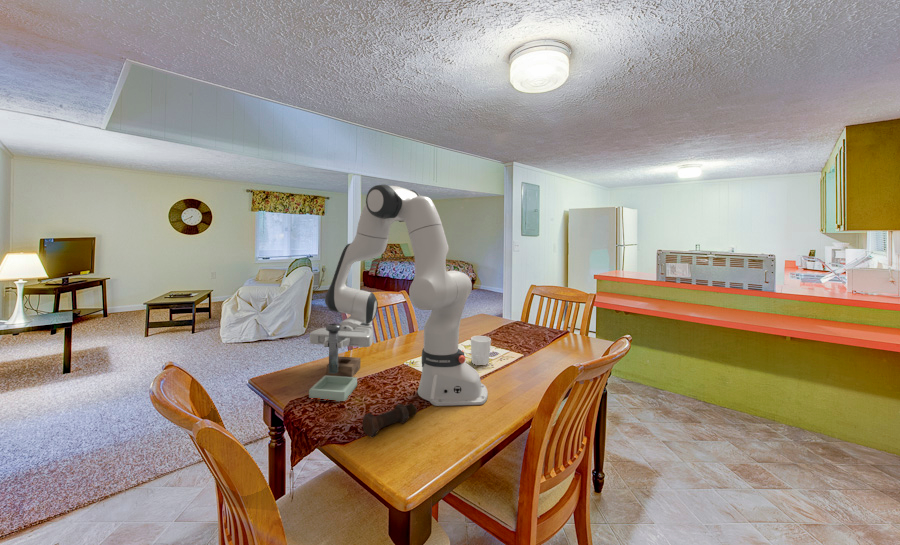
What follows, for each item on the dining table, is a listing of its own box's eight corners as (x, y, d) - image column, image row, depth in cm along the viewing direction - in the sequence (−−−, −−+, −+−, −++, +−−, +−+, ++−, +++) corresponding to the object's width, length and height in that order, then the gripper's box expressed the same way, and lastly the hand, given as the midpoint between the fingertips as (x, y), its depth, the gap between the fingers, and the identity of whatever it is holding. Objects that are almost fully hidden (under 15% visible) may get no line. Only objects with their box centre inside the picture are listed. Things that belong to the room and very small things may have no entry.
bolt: (415, 422, 100) (368, 442, 89) (405, 408, 103) (359, 425, 92) (422, 409, 97) (375, 427, 87) (412, 394, 100) (366, 410, 90)
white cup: (490, 367, 137) (492, 342, 136) (470, 366, 137) (471, 341, 136) (488, 359, 145) (490, 336, 144) (469, 359, 145) (470, 335, 144)
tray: (357, 386, 117) (357, 377, 117) (344, 401, 106) (344, 392, 106) (324, 383, 118) (324, 375, 118) (309, 399, 107) (309, 389, 107)
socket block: (360, 368, 132) (360, 357, 132) (351, 377, 124) (351, 366, 123) (336, 366, 133) (336, 356, 133) (326, 376, 124) (326, 365, 124)
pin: (343, 369, 114) (343, 324, 112) (337, 375, 109) (337, 327, 107) (329, 368, 114) (329, 323, 112) (323, 374, 110) (323, 326, 108)
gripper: (319, 321, 124) (299, 333, 110) (377, 325, 122) (364, 337, 109) (319, 339, 125) (300, 352, 111) (377, 342, 123) (364, 357, 109)
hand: (332, 345), depth 110 cm, fingers closed on pin, 3 cm apart
